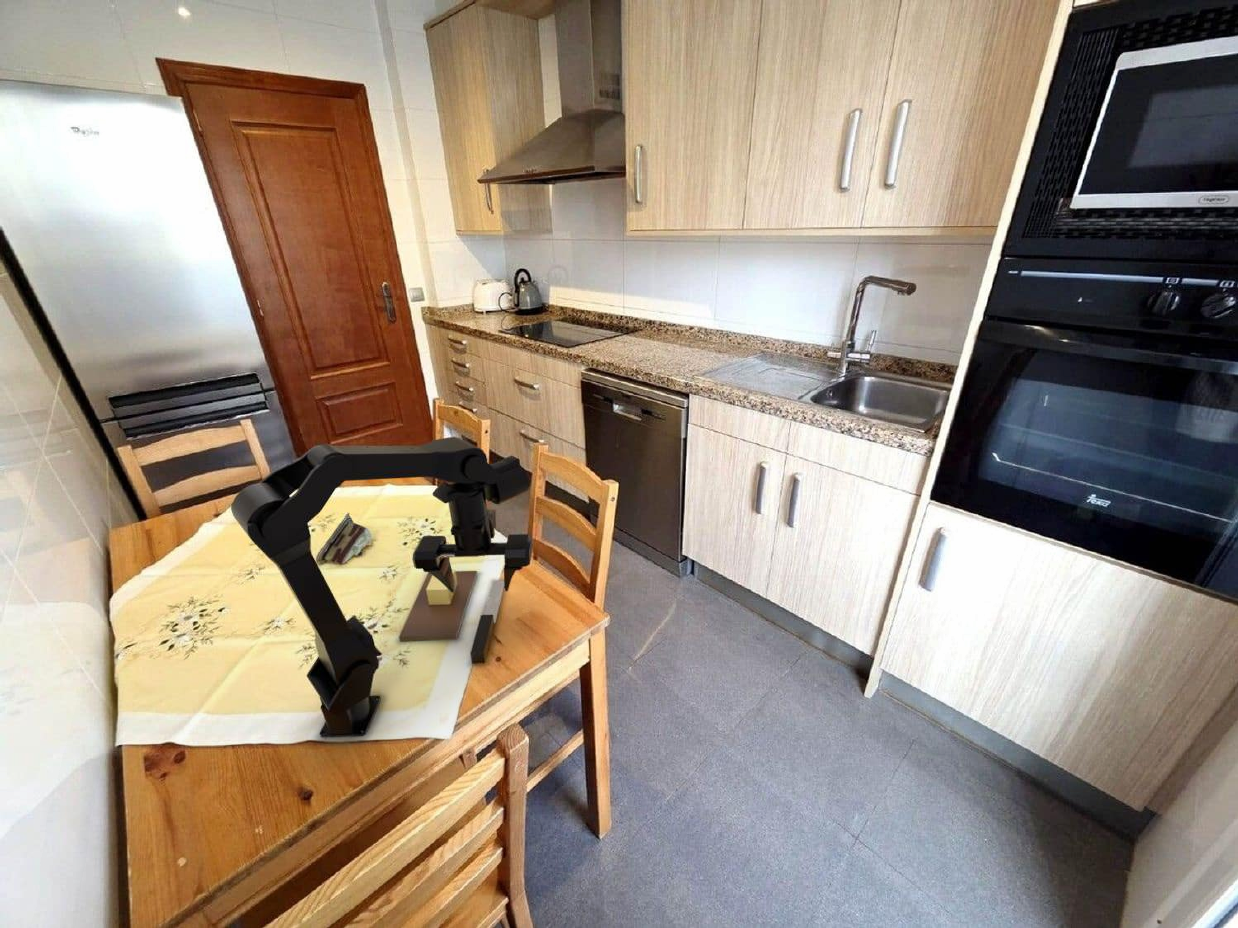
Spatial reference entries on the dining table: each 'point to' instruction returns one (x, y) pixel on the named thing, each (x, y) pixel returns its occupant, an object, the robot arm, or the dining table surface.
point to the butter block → (441, 597)
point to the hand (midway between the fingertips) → (480, 590)
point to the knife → (487, 624)
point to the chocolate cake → (345, 542)
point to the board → (439, 612)
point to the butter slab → (437, 586)
